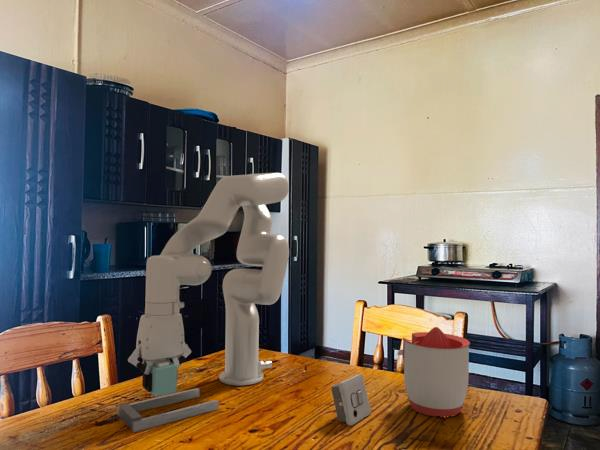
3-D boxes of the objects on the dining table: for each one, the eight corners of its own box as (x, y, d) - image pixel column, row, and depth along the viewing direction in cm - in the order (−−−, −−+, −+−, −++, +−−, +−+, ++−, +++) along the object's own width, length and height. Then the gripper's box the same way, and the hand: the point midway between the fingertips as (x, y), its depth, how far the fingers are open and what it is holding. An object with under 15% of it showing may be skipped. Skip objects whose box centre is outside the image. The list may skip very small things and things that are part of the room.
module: (164, 383, 108) (165, 356, 108) (176, 392, 103) (177, 363, 103) (143, 387, 105) (144, 359, 105) (155, 396, 100) (156, 366, 100)
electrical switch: (350, 427, 99) (347, 384, 99) (331, 423, 102) (328, 381, 103) (371, 414, 106) (369, 374, 107) (353, 411, 109) (350, 372, 110)
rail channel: (197, 395, 116) (197, 385, 116) (218, 409, 108) (218, 398, 108) (117, 415, 103) (117, 404, 103) (133, 432, 95) (134, 420, 95)
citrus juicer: (409, 391, 122) (410, 317, 122) (476, 406, 112) (477, 325, 112) (385, 409, 109) (386, 326, 109) (458, 428, 99) (459, 337, 99)
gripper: (189, 303, 113) (187, 376, 112) (119, 309, 102) (116, 390, 102) (203, 308, 107) (201, 385, 106) (130, 314, 96) (127, 400, 96)
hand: (159, 386), depth 104 cm, fingers closed on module, 5 cm apart
